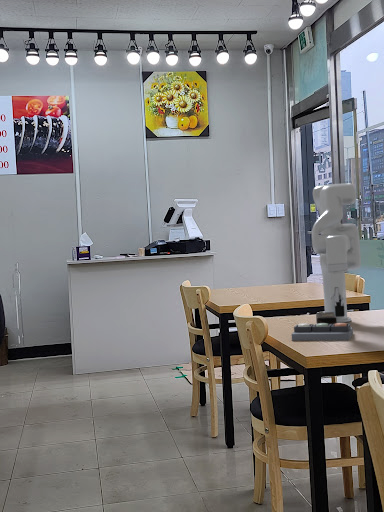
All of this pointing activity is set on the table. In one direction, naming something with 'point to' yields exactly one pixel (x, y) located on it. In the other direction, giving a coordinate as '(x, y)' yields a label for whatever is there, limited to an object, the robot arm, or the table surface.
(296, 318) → the table surface
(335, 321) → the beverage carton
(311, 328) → the button panel
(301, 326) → the cream button
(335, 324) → the terracotta button
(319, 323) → the sage button
